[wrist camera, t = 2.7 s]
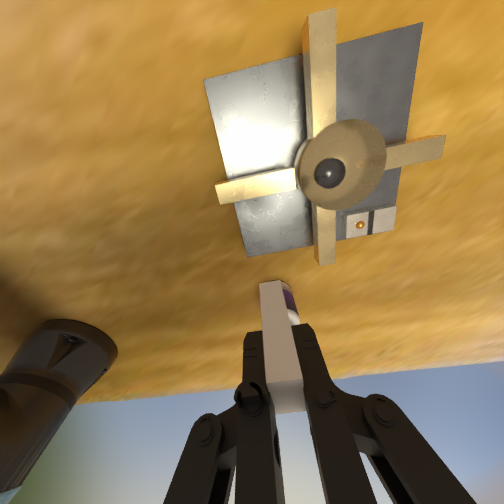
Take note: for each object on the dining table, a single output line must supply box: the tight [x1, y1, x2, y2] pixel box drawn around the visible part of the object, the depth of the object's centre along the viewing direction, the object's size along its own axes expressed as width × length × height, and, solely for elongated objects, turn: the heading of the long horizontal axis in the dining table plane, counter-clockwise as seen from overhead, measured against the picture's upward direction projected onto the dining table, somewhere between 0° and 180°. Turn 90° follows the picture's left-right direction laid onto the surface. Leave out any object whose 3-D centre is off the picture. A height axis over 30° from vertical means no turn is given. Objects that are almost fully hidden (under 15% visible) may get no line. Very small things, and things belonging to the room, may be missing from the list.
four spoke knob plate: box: [215, 7, 446, 266], centre depth 20 cm, size 22×22×4 cm
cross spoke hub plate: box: [204, 22, 423, 257], centre depth 23 cm, size 20×20×3 cm
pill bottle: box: [281, 281, 300, 326], centre depth 30 cm, size 5×5×10 cm
